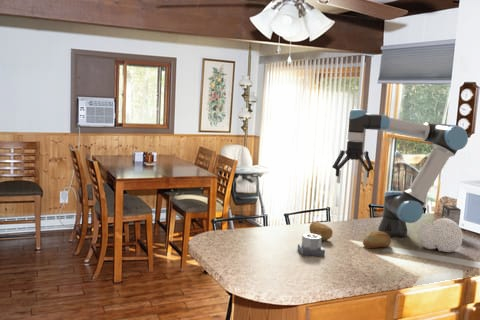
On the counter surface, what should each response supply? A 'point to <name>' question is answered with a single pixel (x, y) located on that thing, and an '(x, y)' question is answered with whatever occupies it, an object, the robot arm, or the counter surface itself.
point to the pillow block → (311, 253)
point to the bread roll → (376, 239)
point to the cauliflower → (441, 235)
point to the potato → (321, 230)
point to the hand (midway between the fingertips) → (351, 183)
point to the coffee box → (451, 213)
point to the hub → (311, 242)
